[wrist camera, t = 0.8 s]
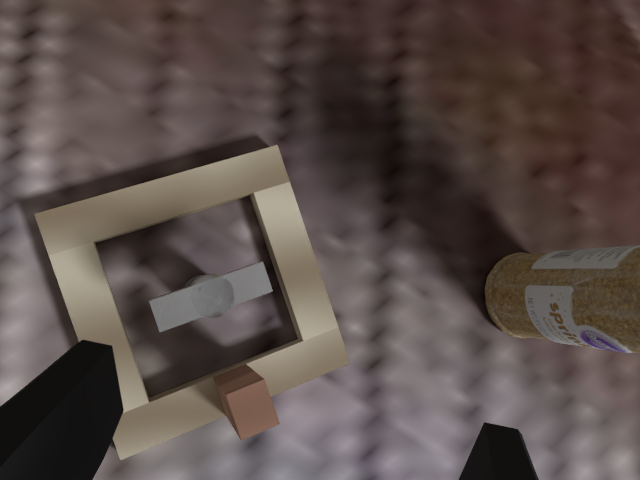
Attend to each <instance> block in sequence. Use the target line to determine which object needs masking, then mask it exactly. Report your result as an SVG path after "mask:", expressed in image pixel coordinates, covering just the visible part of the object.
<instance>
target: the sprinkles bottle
mask: <svg viewBox="0 0 640 480" xmlns="http://www.w3.org/2000/svg"><path fill="white" fill-rule="evenodd" d="M485 298H486V307H487V310H488V314H489V315H490V317H491V319H492V320H493V322H494V323H495V324H496V326H497V327H499V328H500V330H501V331H503V332H504V333H506V334H507V335H509V336H513V337H516V338H540V339H547V340H552V341H555V342H558V343H563V344H570V345H577V346H584V347H591V348H598V349H604V350H611V351H618V352H625V353H634V352H636V353H640V245H636V246H623V247H607V248H592V249H577V250H563V251H554V252H551V253H545V254H530V253H523V252H520V253H514V254H511V255H508V256H506V257H504V258H503V259H501V260H500V261H499V262H498V263H497V264H496V265H495V266H494V267H493V269H492V270H491V272H490V273H489V275H488V277H487V280H486V285H485Z"/></svg>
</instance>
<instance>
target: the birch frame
mask: <svg viewBox="0 0 640 480" xmlns="http://www.w3.org/2000/svg"><path fill="white" fill-rule="evenodd" d="M247 196H250V198H251V201H252V204H253V207H254V210H255V213H256V216H257V219H258V222H259V225H260V228H261V231H262V234H263V237H264V240H265V243H266V246H267V249H268V252H269V255H270V258H271V261H272V264H273V267H274V270H275V273H276V276H277V279H278V282H279V285H280V288H281V290H282V293H283V296H284V299H285V302H286V305H287V308H288V311H289V314H290V317H291V320H292V323H293V326H294V329H295V332H296V335H297V338H298V339H296V340H293V341H291V342H288V343H286V344H283V345H281V346H278V347H276V348H273V349H271V350H268V351H266V352H263V353H261V354H258V355H256V356H253V357H251V358H248V359H246V360H243V361H241V362H238V363H236V364H233V365H230V366H228V367H225V368H223V369H220V370H218V371H215V372H213V373H210V374H208V375H205V376H203V377H200V378H198V379H195V380H193V381H190V382H188V383H185V384H183V385H180V386H178V387H175V388H172V389H170V390H167V391H165V392H162V393H160V394H157V395H155V396H152V397H150V398H149V397H148V394H147V391H146V388H145V385H144V383H143V380H142V377H141V374H140V371H139V368H138V365H137V362H136V360H135V357H134V354H133V351H132V348H131V345H130V342H129V339H128V337H127V334H126V331H125V328H124V325H123V322H122V319H121V316H120V313H119V311H118V308H117V305H116V302H115V299H114V296H113V293H112V290H111V288H110V285H109V282H108V279H107V276H106V273H105V270H104V267H103V264H102V262H101V259H100V256H99V253H98V250H97V247H96V244H95V243H98V242H101V241H104V240H108V239H111V238H114V237H117V236H121V235H124V234H127V233H130V232H134V231H137V230H140V229H143V228H147V227H150V226H153V225H156V224H160V223H163V222H166V221H169V220H173V219H176V218H179V217H182V216H186V215H189V214H192V213H195V212H199V211H202V210H205V209H208V208H212V207H215V206H218V205H221V204H225V203H228V202H231V201H234V200H238V199H241V198H244V197H247ZM34 215H35V218H36V221H37V224H38V227H39V229H40V232H41V235H42V238H43V241H44V244H45V247H46V249H47V252H48V255H49V258H50V261H51V264H52V267H53V269H54V272H55V275H56V278H57V281H58V284H59V287H60V289H61V292H62V295H63V298H64V301H65V304H66V307H67V309H68V312H69V315H70V318H71V321H72V324H73V327H74V329H75V332H76V335H77V338H78V341H79V342H80V341H81V340H88V341H92V342H97V343H102V344H107V345H112V347H113V353H114V358H115V364H116V370H117V375H118V381H119V386H120V392H121V398H122V403H123V409H124V411H123V414H122V416H121V419H120V421H119V424H118V426H117V428H116V431H115V433H114V436H113V441H114V444H115V446H116V449H117V452H118V455H119V458H120V460H122V459H125V458H127V457H129V456H132V455H134V454H136V453H139V452H141V451H144V450H146V449H148V448H151V447H153V446H155V445H158V444H160V443H162V442H165V441H167V440H170V439H172V438H174V437H177V436H179V435H181V434H184V433H186V432H188V431H191V430H193V429H196V428H198V427H200V426H203V425H205V424H207V423H210V422H212V421H215V420H217V419H219V418H222V417H224V416H227V418H228V420H229V421H230V423H231V424H232V426H233V428H234V429H235V431H236V433H237V434H238V436H239V437H240V439H241V440H244V439H246V438H248V437H251V436H253V435H255V434H257V433H260V432H262V431H264V430H266V429H269V428H271V427H273V426H276V425H278V424H280V423H279V420H278V417H277V414H276V411H275V409H274V406H273V403H272V400H271V396H274V395H276V394H278V393H281V392H283V391H285V390H288V389H290V388H293V387H295V386H297V385H300V384H302V383H304V382H307V381H309V380H311V379H314V378H316V377H319V376H321V375H323V374H326V373H328V372H330V371H333V370H335V369H337V368H340V367H342V366H345V365H347V364H349V363H350V361H349V358H348V355H347V352H346V349H345V346H344V343H343V340H342V337H341V334H340V331H339V328H338V325H337V322H336V319H335V316H334V313H333V310H332V307H331V304H330V301H329V298H328V295H327V292H326V289H325V286H324V283H323V280H322V277H321V274H320V271H319V268H318V265H317V262H316V259H315V256H314V253H313V250H312V247H311V244H310V241H309V238H308V235H307V232H306V229H305V226H304V223H303V220H302V217H301V214H300V211H299V208H298V205H297V202H296V199H295V196H294V193H293V190H292V187H291V184H290V181H289V178H288V175H287V172H286V169H285V166H284V163H283V160H282V157H281V154H280V151H279V148H278V145H275V146H272V147H268V148H265V149H261V150H258V151H254V152H251V153H247V154H244V155H240V156H237V157H233V158H230V159H226V160H223V161H219V162H216V163H212V164H208V165H205V166H201V167H198V168H194V169H191V170H187V171H184V172H180V173H177V174H173V175H170V176H166V177H163V178H159V179H156V180H152V181H149V182H145V183H141V184H138V185H134V186H131V187H127V188H124V189H120V190H117V191H113V192H110V193H106V194H103V195H99V196H96V197H92V198H89V199H85V200H82V201H78V202H74V203H71V204H67V205H64V206H60V207H57V208H53V209H50V210H46V211H43V212H39V213H36V214H34Z"/></svg>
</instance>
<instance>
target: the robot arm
mask: <svg viewBox="0 0 640 480" xmlns="http://www.w3.org/2000/svg"><path fill="white" fill-rule="evenodd" d="M123 411H124V409H123V403H122V398H121V392H120V386H119V381H118V375H117V370H116V364H115V358H114V353H113V347H112V345H107V344H102V343H97V342H92V341H88V340H81V341H80V342H78V343H77V344H76V345H74V346H73V347H72V348H71V349H70V350H68V351H67V352H66V353H65V354H64V355H62V356H61V357H60V358H59V359H58V360H56V361H55V362H54V363H53V364H52V365H51V366H49V367H48V368H47V369H46V370H45V371H43V372H42V373H41V374H40V375H39V376H37V377H36V378H35V379H34V380H33V381H31V382H30V383H29V384H28V385H26V386H25V387H24V388H23V389H22V390H20V391H19V392H18V393H17V394H16V395H14V396H13V397H12V398H11V399H9V400H8V401H7V402H5V403H4V404H3V405H2V406H0V480H92V479H93V477H94V476H95V474H96V472H97V470H98V468H99V466H100V465H101V463H102V461H103V459H104V457H105V454H106V452H107V450H108V447H109V445H110V443H111V441H112V438H113V436H114V433H115V431H116V428H117V426H118V424H119V421H120V419H121V416H122V414H123ZM459 480H539V479H538V477H537V474H536V472H535V469H534V467H533V464H532V461H531V459H530V456H529V453H528V451H527V448H526V445H525V442H524V440H523V437H522V434H521V433H520V432H519V430H518V429H514V428H509V427H504V426H499V425H494V424H490V423H485V422H484V424H483V426H482V429H481V431H480V433H479V435H478V438H477V440H476V442H475V444H474V447H473V449H472V451H471V453H470V456H469V458H468V460H467V462H466V465H465V467H464V469H463V471H462V474H461V476H460V478H459Z"/></svg>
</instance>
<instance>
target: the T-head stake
mask: <svg viewBox="0 0 640 480" xmlns="http://www.w3.org/2000/svg"><path fill="white" fill-rule="evenodd" d="M272 291H273V290H272V287H271V284H270V281H269V278H268V275H267V272H266V269H265V266H264V263H263V262H257V263H255V264H252V265H249V266H246V267H243V268H240V269H237V270H234V271H231V272H229V273H226V274H223V275H215V274H211V275H198V276H195V277H192V278H191V279H189V280H188V281H187V283H186V284H185V286H184V288H182V289H179V290H176V291H174V292H171V293H168V294H165V295H162V296H159V297H156V298H153V299H150V300H149V303H150V306H151V309H152V312H153V314H154V317H155V320H156V323H157V326H158V329H159V332H163V331H165V330H168V329H171V328H174V327H176V326H179V325H182V324H185V323H187V322H190V321H193V320H196V319H198V318H201V317H204V316H205V317H209V318H215V317H219V316H222V315H224V314H225V313H226V312H228V311H229V309H230V308H231V306H234V305H237V304H239V303H242V302H245V301H248V300H250V299H253V298H256V297H259V296H261V295H264V294H267V293H270V292H272Z"/></svg>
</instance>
